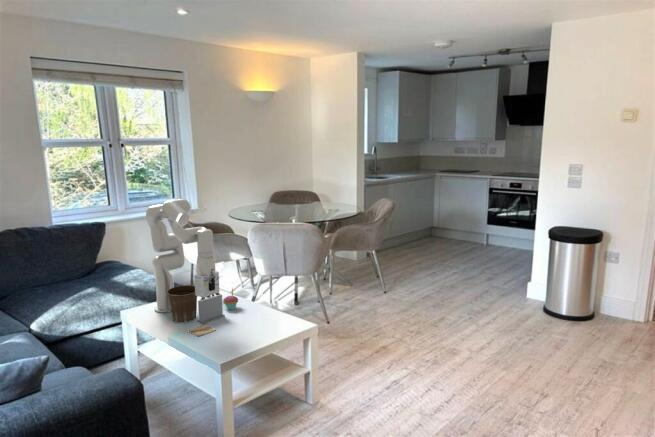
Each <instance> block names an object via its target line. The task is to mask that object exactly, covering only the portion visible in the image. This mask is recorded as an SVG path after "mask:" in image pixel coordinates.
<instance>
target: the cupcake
mask: <svg viewBox="0 0 655 437" xmlns="http://www.w3.org/2000/svg"><path fill="white" fill-rule="evenodd" d="M238 303H239V298H238V297H237V296H235V295H234V288H231V295H228V296H226V297H225V298H223V299H222V304H223V305H224V306H225V308H226V310H229V311H230V310H231V311H232V310H235V309H236V306H237V304H238Z"/></svg>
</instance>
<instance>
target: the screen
mask: <svg viewBox="0 0 655 437" xmlns="http://www.w3.org/2000/svg"><path fill="white" fill-rule="evenodd" d="M197 306H198V307H197V308H198V309H197V310H198V319H197V323H198V322H199V323H198V324H201V325H204V324H205V325H206V324H208V323H210V322H214V321H217V320H220V319H223V318H226V315H225V314H223V294H221V293H220V295H214V296H213V297H212V296H209V297H205V299H203V300H201V299H200V301H199V300H197Z"/></svg>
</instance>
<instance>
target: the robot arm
mask: <svg viewBox="0 0 655 437" xmlns="http://www.w3.org/2000/svg"><path fill="white" fill-rule="evenodd" d="M191 208H192V207H191V203H190V202H189V201H188V199H184V198H179V199H178V198H177V199H169V200H166V201H164V202H163V203H162V204H154V205H151V206H149V207H148V208H147V209H146V211H145V212H146V213H145V217H146V222H147V224H148V226H149V229H150V236H151V243H152V248H153V251H154V252H155V253H163V254H159V255H157V256H155V257H154V258H153V259H152V263H151V264H152V268H153V272H154V279H155V291H156V301H155V302H156V306H155V307H154V312H156V313H172V311H171V305H170V300H169V297H168V294H167V291H168V290H169V289H171V288H173V287H175V285H174V283H175V282H174V276H173V275H172V274H171V273H170V272H171V271H173V270H177V269H182V268H183V267H184V266H185V263H186V262H185V254H184V244H185V245H186V244H193V243H196V244H197V258H196V269H195V272H196V275H197V274H201V275H205V276H206V278H209V282H210V283H209V291H212V290H215V281H216V279H217V277H218V276H217V275H216V272H215V271H216V263H215V258H214V256H215V254H214V234H213V230H212V229H210V228H206V227H205V226H195V227H188V228H187V227H186V228H184V227H185V226H186V225H187V224H188V223H189V221H190V215H189V213H190V212H191ZM164 220H170V221H171V222H172V232H173V233H168V229H167V225H166V224H165V223H164ZM165 252H169V253H165ZM164 253H165V254H164ZM211 275H212V276H211ZM210 276H211V277H210ZM211 278H212V280H211Z"/></svg>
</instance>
